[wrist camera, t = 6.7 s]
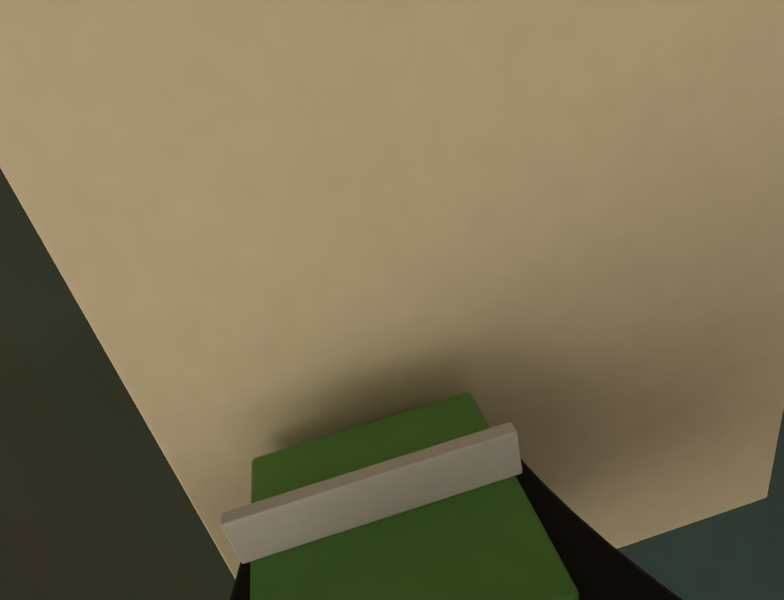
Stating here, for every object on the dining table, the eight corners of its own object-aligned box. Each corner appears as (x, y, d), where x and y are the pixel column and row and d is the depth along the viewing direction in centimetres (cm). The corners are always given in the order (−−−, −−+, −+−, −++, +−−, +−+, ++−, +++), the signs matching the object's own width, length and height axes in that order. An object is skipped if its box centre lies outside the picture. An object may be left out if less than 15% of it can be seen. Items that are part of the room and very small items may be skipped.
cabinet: (73, -21, 13) (-125, -46, 6) (600, -143, 14) (914, -276, 8) (273, 446, 21) (282, 664, 14) (608, 343, 22) (767, 498, 15)
